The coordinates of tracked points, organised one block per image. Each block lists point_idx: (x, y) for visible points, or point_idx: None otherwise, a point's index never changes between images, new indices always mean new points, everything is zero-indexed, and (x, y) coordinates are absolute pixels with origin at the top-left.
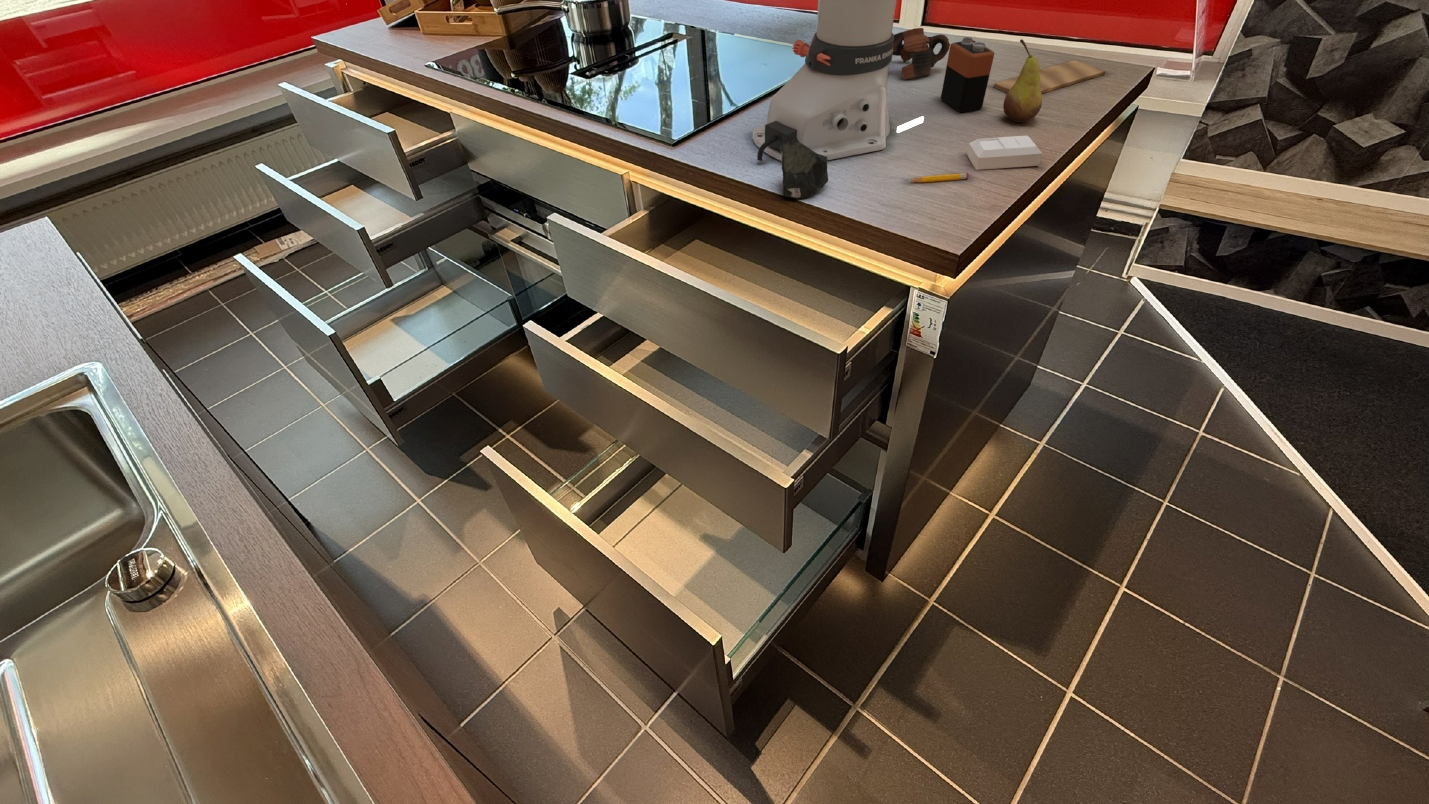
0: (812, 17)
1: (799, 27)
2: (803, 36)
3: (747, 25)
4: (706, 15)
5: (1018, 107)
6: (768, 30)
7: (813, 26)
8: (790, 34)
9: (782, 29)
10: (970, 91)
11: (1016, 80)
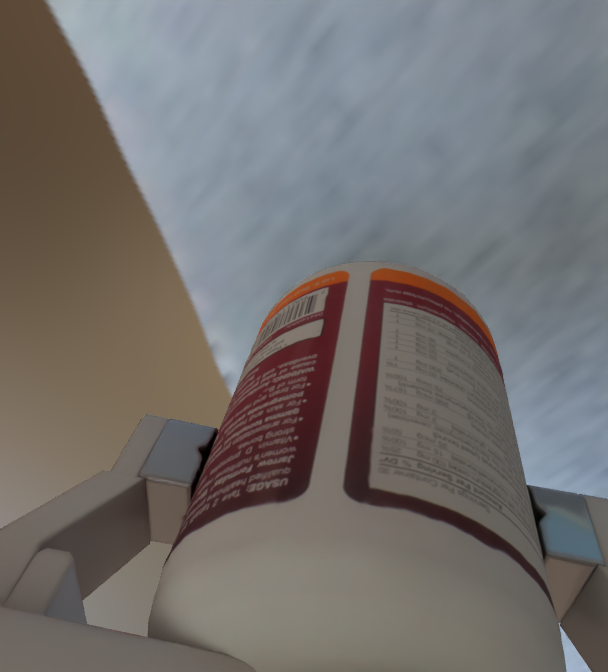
0: (251, 337)
1: (427, 272)
2: (554, 126)
3: (575, 470)
4: (563, 637)
5: None
6: (582, 355)
7: (356, 227)
8: (570, 218)
9: (519, 314)
10: None
11: None
